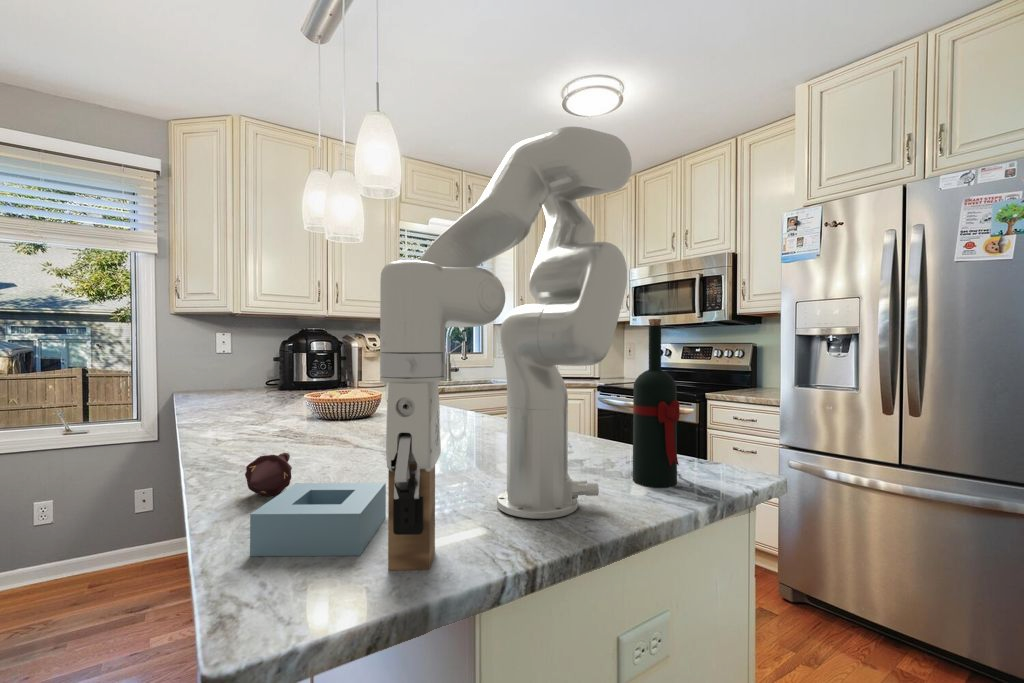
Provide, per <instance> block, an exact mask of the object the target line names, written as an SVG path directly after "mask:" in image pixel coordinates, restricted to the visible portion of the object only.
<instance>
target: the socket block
mask: <svg viewBox="0 0 1024 683" xmlns="http://www.w3.org/2000/svg"><path fill="white" fill-rule="evenodd" d="M386 485H387V483H386V482H296V483H294V484H292V485H291V486H290V487H288V488H285V489H284V490H283V491H282V492H281V493H280V494H279V495H276V496H274V498H272V499H271V500H269V501H267V502H266V503H264V504H263V505H261V506H260V507H259V508H257V509H255V510H254V511H253V512H251V513H250V516H249V557H313V556H314V557H316V556H317V557H318V556H319V557H321V556H322V557H323V556H326V557H329V556H330V557H331V556H335V557H337V556H338V557H340V556H343V557H345V556H347V557H348V556H361V555H362V553H363V552H364V550H365V549H366V547H367V546H368V544H369V543H370V541H371V540H372V538H373V536H374V535H375V533H377V531H378V529H379V528H380V526H381V525H382V523H383V522H384V521H385V518H386V516H387V513H386V511H387V509H386V508H387V507H386V506H387V505H386V503H387V502H386V501H387V500H386V498H387V494H386V492H387V491H386V488H387V486H386Z"/></svg>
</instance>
